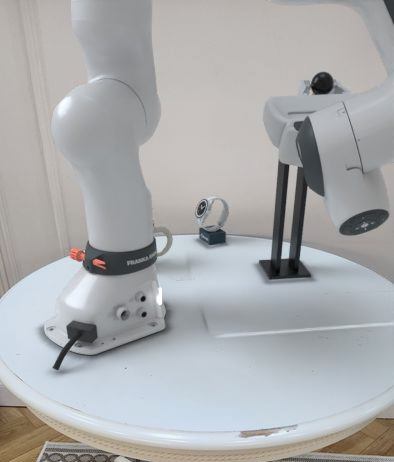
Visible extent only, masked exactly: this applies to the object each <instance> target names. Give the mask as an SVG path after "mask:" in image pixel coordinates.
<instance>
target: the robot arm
mask: <svg viewBox="0 0 394 462" xmlns="http://www.w3.org/2000/svg"><path fill="white" fill-rule="evenodd" d="M266 1H267V2H270V3H273V4H277V5H282V6H295V7H296V6H312V5H313V6H314V5H339V6H343V7H346V8H349V9H351V10H352V11H354V12H355V13H356V14H358V15H359V17H360V18H361V19H362V21H363V23H364V25H365V27H366V30H367V31H368V34H369V36H370V38H371V41H372V43H373V45H374V47H375V49H376V51H377V54H378V56H379V58H380V60H381V62H382V64H383V66H384V69H385V71H386V74H387V75H386V79H385V80H384V81H383V82H382V83H380V84H379V85H377V86H374V87H371V88H369V89H367V90H365V91H362V92H356V93H355V92H353V93H352V92H351V90H350V89H348V88H347V87H345V86H343V85H342V84H341V81H340V79H339V78H335V79H334V78H333V80H334V85H333V89H332V91H331V92H330V93H329V94H325V95H312V94H310V91H311V81H310V80H308V79H307V80H306V79H303V80H299V84H298V89H297V90H298V94H297V95H277V96H276V95H275V96H274V95H273V96H269V97H268V98H267V99H266V101H265V102H264V106H263V111H262V122H263V126H264V129H265V132H266V134H267V136H268V138H269V139H268V140H270V142H271V144H272V145H273V146H274V147H275V148H277V149H278V160H280V162H282V163H284V164H289V165H290V166H295V167H298V166H299V167H303V171H304V176H305V180H306V183H307V185H308V189H309V190H311V191H312V192H314V193H315V194H317V195H318V196H320V197H321V198H322V201H323V204H324V207H325V209H326V212H327V214H328V216H329V218H330V220H331V222H332V224H333V226H334V228H335V229H336V231H337V232H338V233H339V234H340V235H342V236H348V237H351V236H354V237H355V236H359V235H362V234H365V233H369V232H371V231H373V230H375V229H378V228H379V227H381V226H382V225H383V224H384V223H385V222H387V220H388V219H389V217H390V215H391V205H390V199H389V193H388V189H387V186H386V185H387V184H386V181H385V178H384V175H383V172H382V169H381V168H383V167H386V166H388V165H391V164H393V163H394V0H266ZM70 20H71V21H70V23H71V27H72V31H73V33H74V35H75V37H76V38H77V40H78V42H79V46H80V48H81V52H82V56H83V60H84V65H85V69H86V76H87V77H86V78H87V83H83V84H80V85H78V86H76V87H74V88H73V89H71V90H70V91H69V92H68V93H67V94H66V95H65V96H63V98H62V99H61V100H60V101H59V103H58V104H57V105H55V108H54V110H53V113H52V116H51V123H50V127H51V128H50V129H51V135H52V138H53V141H54V143H55V146H56V147H57V150H58V151H59V152H60V154H61V155H62V156H63V157H64V158H65V159H66V160H67V161H69V162H70V164H71V167H72V169H73V172H74V175H75V177H76V180H77V183H78V185H79V188H80V192H81V195H82V196H81V197H82V201H83V205H84V214H85V221H86V230H87V237H88V240H87V242H86V245H85V249H84V250H82V249H79V248H77V247H72V248H71V249H70V252H68V253H69V259H71V260H73V261H76V262H78V263H81V262H82V263H81V264H82V266H81V267H80V268H79V270H78V271H77V272H76V273H75V274H74V276H73V277H72V278H71V279H70V280H69V281H68V283H67V284H66V285H65V286H64V288H63V289H62V290H61V291H60V293H58V295H57V297H56V300H55V316H54V317H52V318H50V319H49V320H47V321H46V322H44V325H43V330H44V334H45V335H46V337H47V338H48V339H49V340H50V341H51V342H53V343H54V344H56V345H57V346H59V347H61V348H62V349H61V351H60V352H59V354H58V355H57V357H56V359H55V361H54V364H53V366H52V369H54V370H56V371H59V370H60V367H61V365H62V363H63V362H64V359H65V358H66V356H67V355H68V353H69V351H70V352H72V353H76V354H81V355H86V356H94V355H98V354H100V353H103V352H105V351H109V350H112V349H114V348H116V347H119V346H122V345H125V344H129V343H131V342H133V341H136V340H140V339H141V338H144V337H147V336H150V335H153V334H155V333H158V332H161V331H163V330H165V329H166V328H167V327H166V320H165V317H166V314H167V308H166V306H165V303H164V300H163V297H162V287H160V285H159V284H160V283H159V278H158V274H157V265H156V262H157V260H158V257H157V253H158V248H157V239H156V237H155V236H153V220H154V217H153V215H154V214H153V198H152V197H153V196H152V192H151V190H150V189H149V187H148V186H147V184H146V182H145V181H146V180H145V178H144V174H143V170H142V166H141V161H140V147H141V146H143V145H144V144H146V143H148V141H149V140H151V138H152V137H153V136H154V134H155V132H156V130H157V128H158V126H159V123H160V121H161V117H162V104H161V101H160V100H161V99H160V97H159V95H158V87H157V76H156V67H155V59H154V50H153V49H154V48H153V34H152V33H153V0H70Z"/></svg>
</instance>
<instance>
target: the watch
mask: <svg viewBox="0 0 394 462" xmlns="http://www.w3.org/2000/svg"><path fill="white" fill-rule="evenodd" d="M218 200H219V201H221V203H222V205H223V207H222V210H221V213H220V215H219V217H218V219H217V220H216V224H213V225H208V226H205V225H204V223H205V221H206V219H208V217H209V216H210V215H211V214H212V208H213V205H214V203H215V201H218ZM229 214H230V209H229V204H228V203H227V201H226V200H225V199H223V198H221V197H219V196H217V195H209V196H206V197H205V198H202V199H200V201H199V202H198V203H197V205H196V207H195V210H194V216H195V220H196V222H197V224H198V225H199V227H198V233H199V234H198V236H199V237H198V238H199V239H200V240H201V241H203V242H204V243H206V244H207V245H209V246H213V245H218V244H224V243H226V241H227V239H226V238H227V231H225V230H223V229H222V228H223V227H224V226H225V224H226V222H227V220H228V218H229Z"/></svg>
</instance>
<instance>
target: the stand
mask: <svg viewBox="0 0 394 462" xmlns="http://www.w3.org/2000/svg"><path fill="white" fill-rule="evenodd" d="M290 166H291V165H289V164H284V163H282V162H280V160H279V159H278V162H277V172H276V173H277V174H276V175H277V177H276V189H275V199H274V212H273V213H274V214H273V227H272V238H271V249H270V250H271V251H270V252H271V253H270V259H259V260H258V264H259V266H260V268H261V269H262V271H263V272H264V274H265V276H266V277H267V279H268V281H269V280H270V281H271V280H286V279H301V278H303V279H305V278H311V277H312V274H311V272H310V271H309V269H308V268H307V267H306V265H305V264H304V263H303V262H302V260H301V251H302V244H303V243H302V242H303V235H304V233H303V232H304V224H305V223H304V222H305V214H306V205H307V197H308V196H307V195H308V189H309V187H308V185H307V183H306V180H305V176H304V171H303V167H299V166H297V167H296V168H297V170H296V178H295V179H296V180H295V190H294V200H293V201H294V202H293V211H292V212H293V213H292V221H291V231H290V240H289V241H290V242H289V251H288V257H287V258H282V257H283V256H282V255H283V245H284V233H285V232H284V231H285V222H286V221H285V220H286V208H287V199H288V186H289V176H290Z"/></svg>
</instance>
